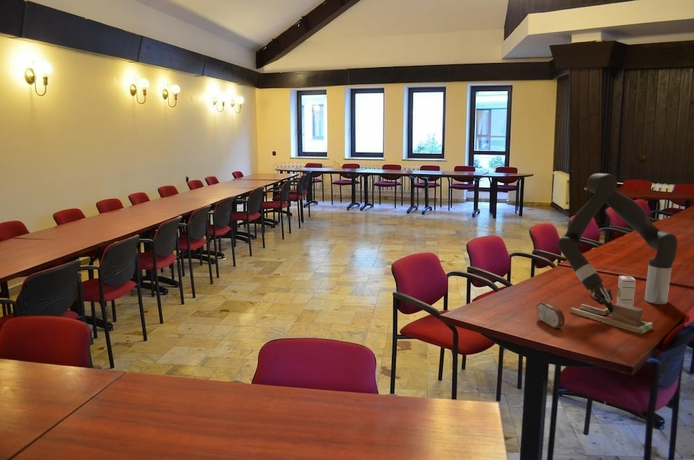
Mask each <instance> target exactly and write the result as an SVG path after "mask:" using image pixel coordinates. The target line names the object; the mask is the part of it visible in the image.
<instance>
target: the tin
mask: <svg viewBox="0 0 694 460" xmlns="http://www.w3.org/2000/svg"><path fill="white" fill-rule="evenodd" d="M536 315H537V317H538V318H539V320H540V321H541V322H543V323H544V324H546V325H548V326H549V327H551V328H553V329H561V328H563V327H564V325H565V321H566V320H565V314H564V313H563V311H562V310H561V309H560V308H559V307H557V306H555V305H553V304H552V303H549V302H548V301H543V302H539V303H538V304H537V305H536Z"/></svg>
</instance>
